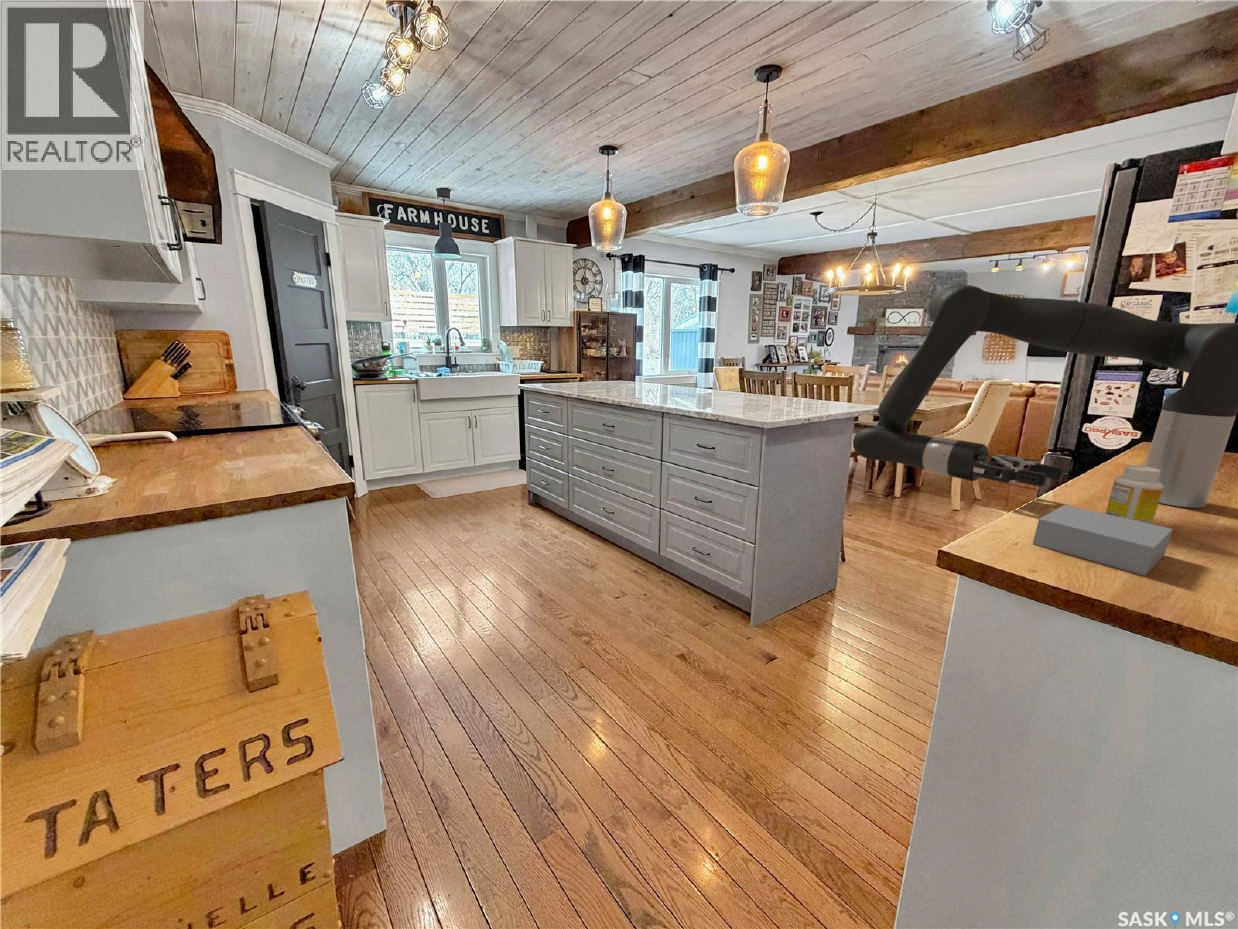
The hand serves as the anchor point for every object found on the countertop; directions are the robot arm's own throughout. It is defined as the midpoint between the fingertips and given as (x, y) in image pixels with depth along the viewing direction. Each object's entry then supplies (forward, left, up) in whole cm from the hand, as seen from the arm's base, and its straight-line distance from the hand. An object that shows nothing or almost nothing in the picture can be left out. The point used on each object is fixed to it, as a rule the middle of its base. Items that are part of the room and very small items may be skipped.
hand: (1054, 477), depth 89 cm
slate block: (+16, +10, -6) cm, 20 cm away
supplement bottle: (0, +10, -6) cm, 12 cm away
